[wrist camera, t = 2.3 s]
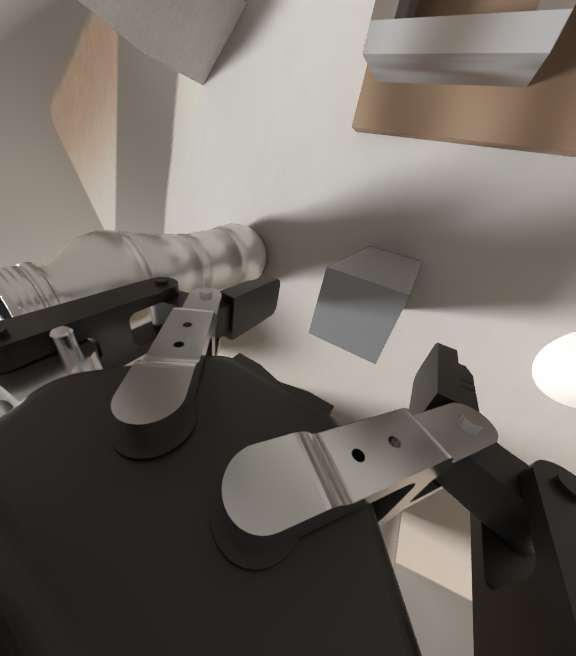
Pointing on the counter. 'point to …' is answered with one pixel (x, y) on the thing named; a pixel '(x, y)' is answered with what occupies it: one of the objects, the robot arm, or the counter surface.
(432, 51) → the socket board
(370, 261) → the plug
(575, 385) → the champagne flute
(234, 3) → the small milk carton
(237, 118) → the counter surface
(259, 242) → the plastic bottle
